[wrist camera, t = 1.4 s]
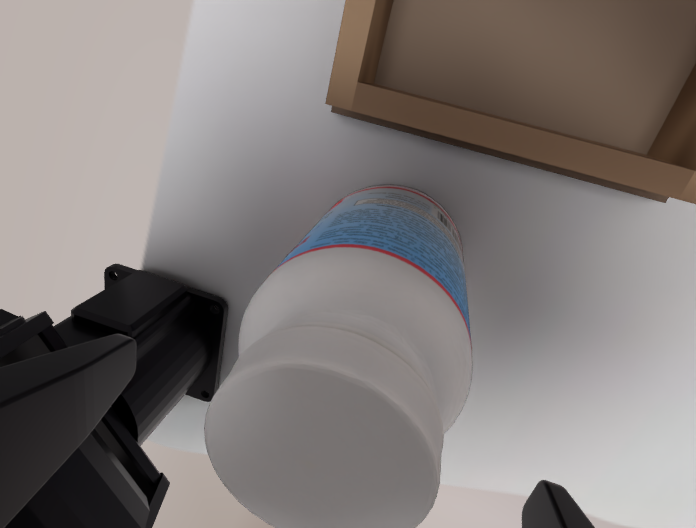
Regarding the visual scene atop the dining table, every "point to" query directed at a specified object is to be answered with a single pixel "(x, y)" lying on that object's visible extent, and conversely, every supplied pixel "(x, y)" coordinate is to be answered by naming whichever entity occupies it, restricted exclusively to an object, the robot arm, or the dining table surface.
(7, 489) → the robot arm
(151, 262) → the dining table surface
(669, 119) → the walnut socket
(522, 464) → the dining table surface
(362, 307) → the pill bottle
